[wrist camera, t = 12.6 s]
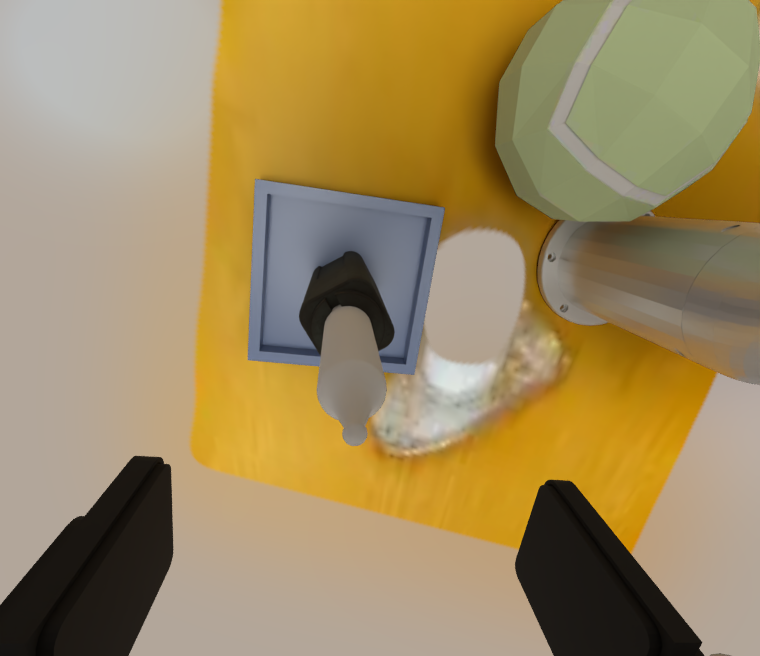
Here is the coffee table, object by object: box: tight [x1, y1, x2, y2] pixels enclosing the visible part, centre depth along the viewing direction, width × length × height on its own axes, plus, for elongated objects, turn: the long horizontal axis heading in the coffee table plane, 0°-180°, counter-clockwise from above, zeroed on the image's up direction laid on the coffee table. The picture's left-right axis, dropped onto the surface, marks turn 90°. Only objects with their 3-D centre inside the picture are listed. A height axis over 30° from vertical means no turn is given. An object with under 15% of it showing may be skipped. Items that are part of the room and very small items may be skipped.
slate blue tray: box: [248, 179, 445, 375], centre depth 36 cm, size 16×16×2 cm
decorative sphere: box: [495, 0, 760, 222], centre depth 27 cm, size 15×15×15 cm
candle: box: [299, 251, 395, 446], centre depth 25 cm, size 5×5×25 cm
